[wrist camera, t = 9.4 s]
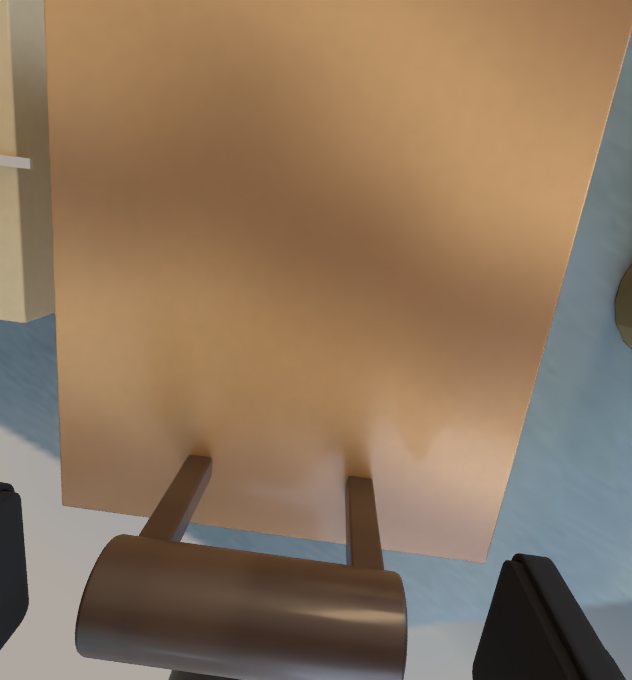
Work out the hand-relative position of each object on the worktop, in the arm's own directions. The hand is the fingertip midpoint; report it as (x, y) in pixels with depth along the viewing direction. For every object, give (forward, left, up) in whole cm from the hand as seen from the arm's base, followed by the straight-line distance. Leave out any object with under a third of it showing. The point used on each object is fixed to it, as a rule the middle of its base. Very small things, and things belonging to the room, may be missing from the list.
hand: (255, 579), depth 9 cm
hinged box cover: (+6, 0, -5) cm, 8 cm away
